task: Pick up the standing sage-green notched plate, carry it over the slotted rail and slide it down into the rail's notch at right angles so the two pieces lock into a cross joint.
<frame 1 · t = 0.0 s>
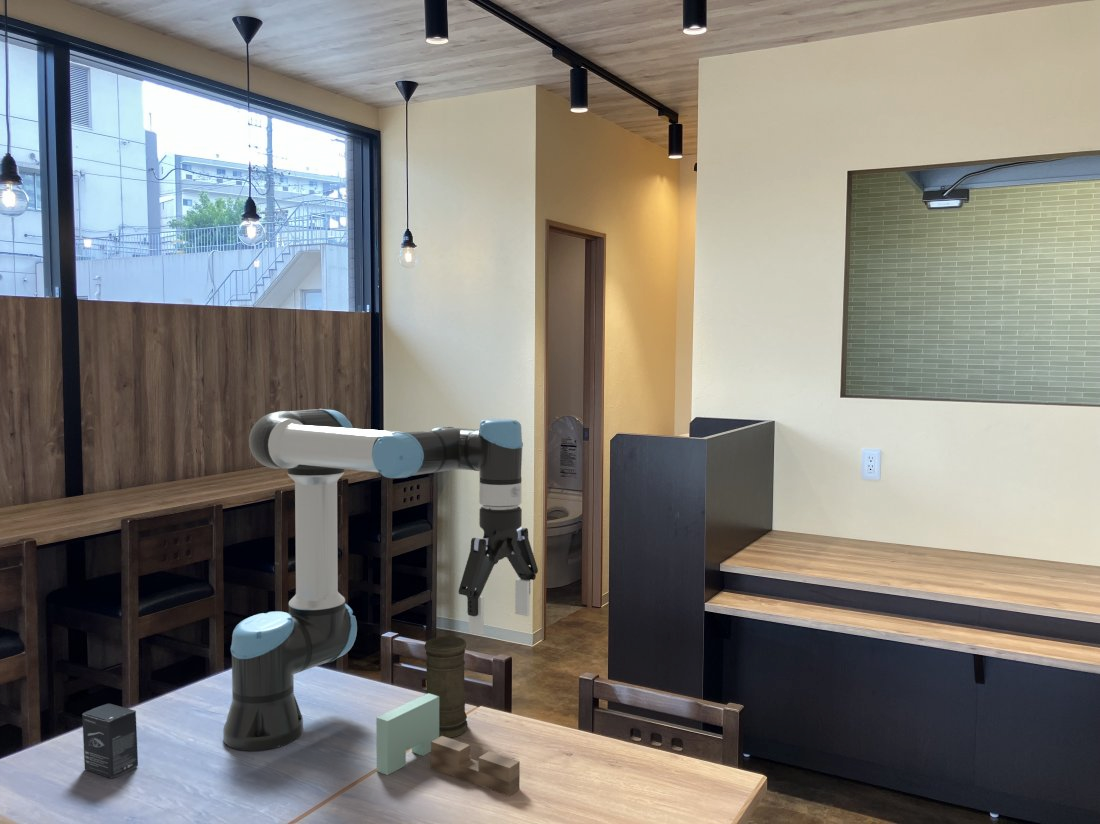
hand: (500, 623, 151), 28 cm above the table, fingers open, 13 cm apart
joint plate: (408, 758, 159), on the table
box: (110, 769, 154), on the table
container: (445, 729, 172), on the table
slotted rail: (474, 778, 151), on the table
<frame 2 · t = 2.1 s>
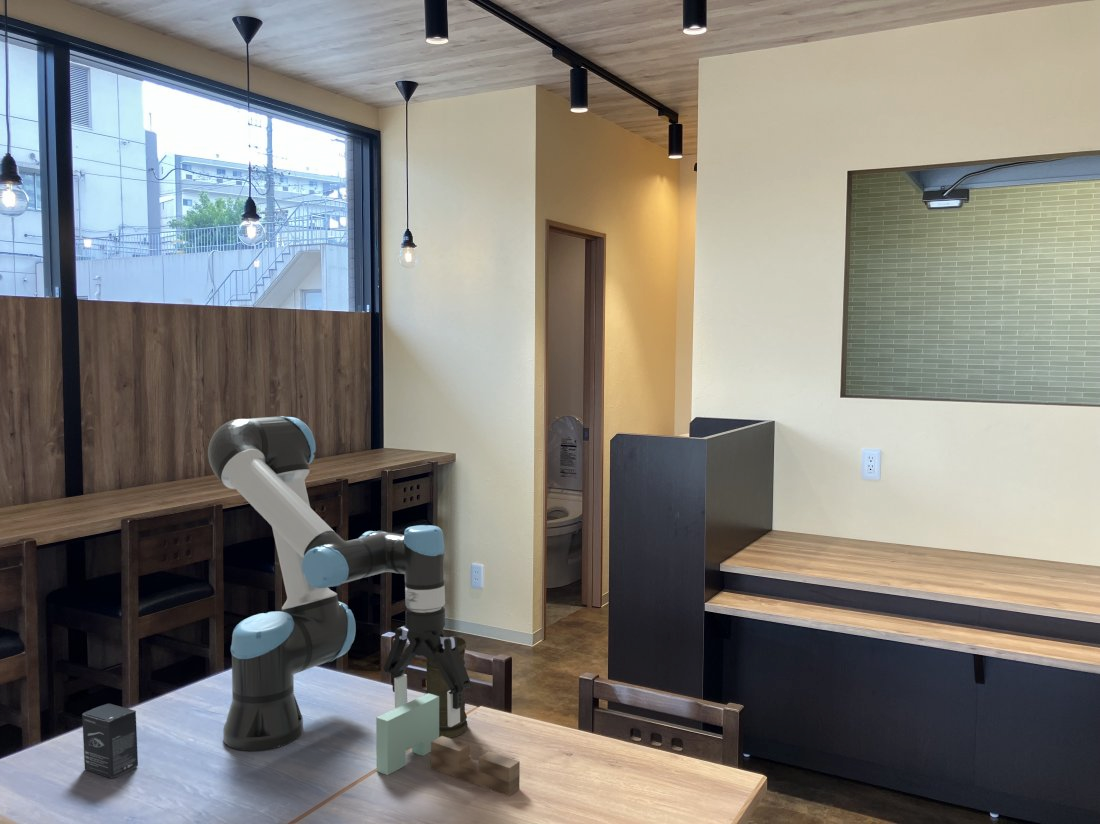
hand: (426, 716, 162), 7 cm above the table, fingers open, 13 cm apart
nothing on the table moved.
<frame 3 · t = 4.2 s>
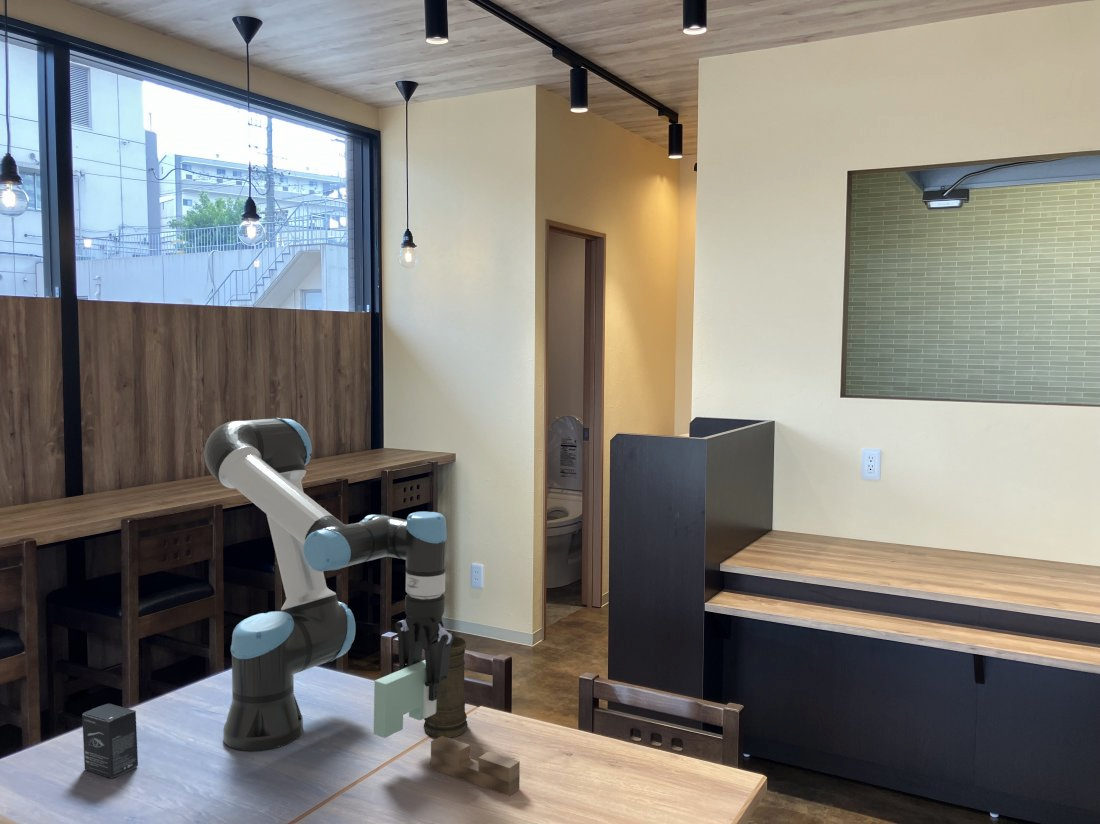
hand: (422, 712, 163), 7 cm above the table, fingers closed on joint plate, 3 cm apart
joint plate: (405, 722, 159), point 7 cm above the table, touching gripper
everything else where it was.
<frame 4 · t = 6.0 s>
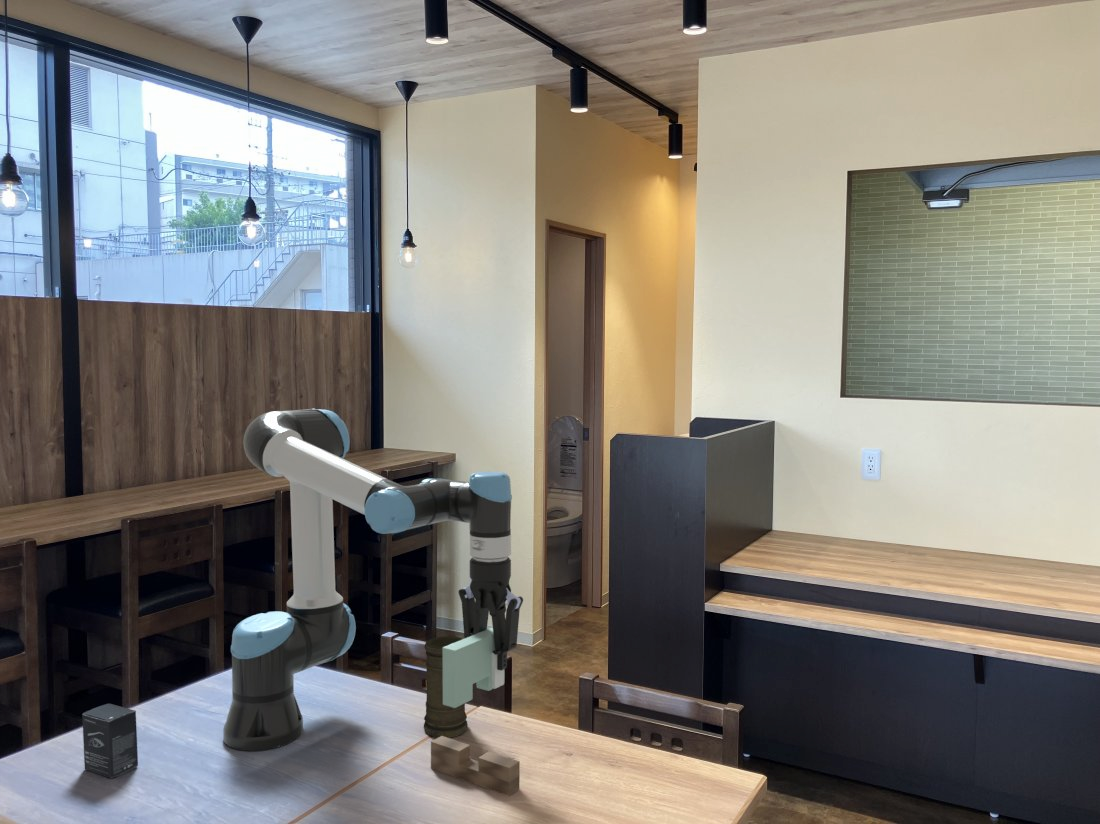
hand: (490, 683, 154), 16 cm above the table, fingers closed on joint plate, 3 cm apart
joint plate: (474, 693, 151), point 16 cm above the table, touching gripper
everything else where it was.
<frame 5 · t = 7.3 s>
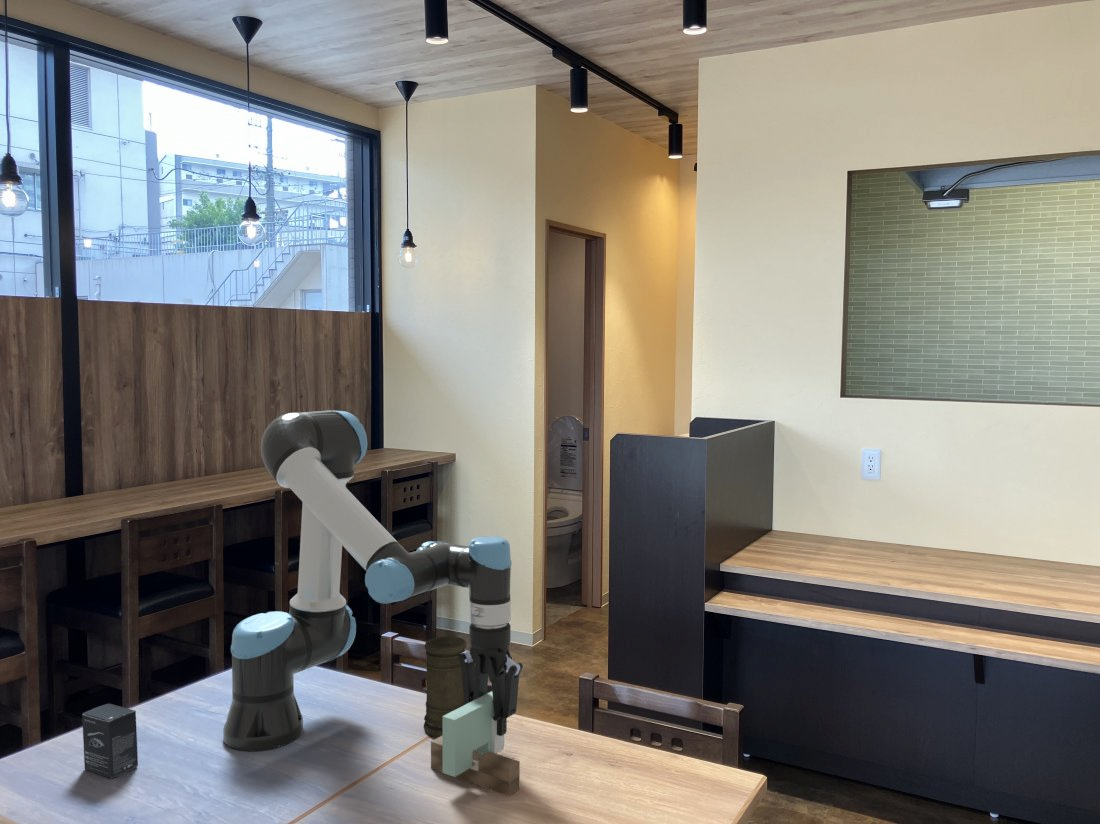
hand: (489, 748, 155), 4 cm above the table, fingers closed on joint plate, 3 cm apart
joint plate: (474, 759, 151), point 3 cm above the table, touching gripper
everything else where it was.
when the fingers open (1 cm above the table, at t = 8.1 s): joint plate stays where it is, on the table.
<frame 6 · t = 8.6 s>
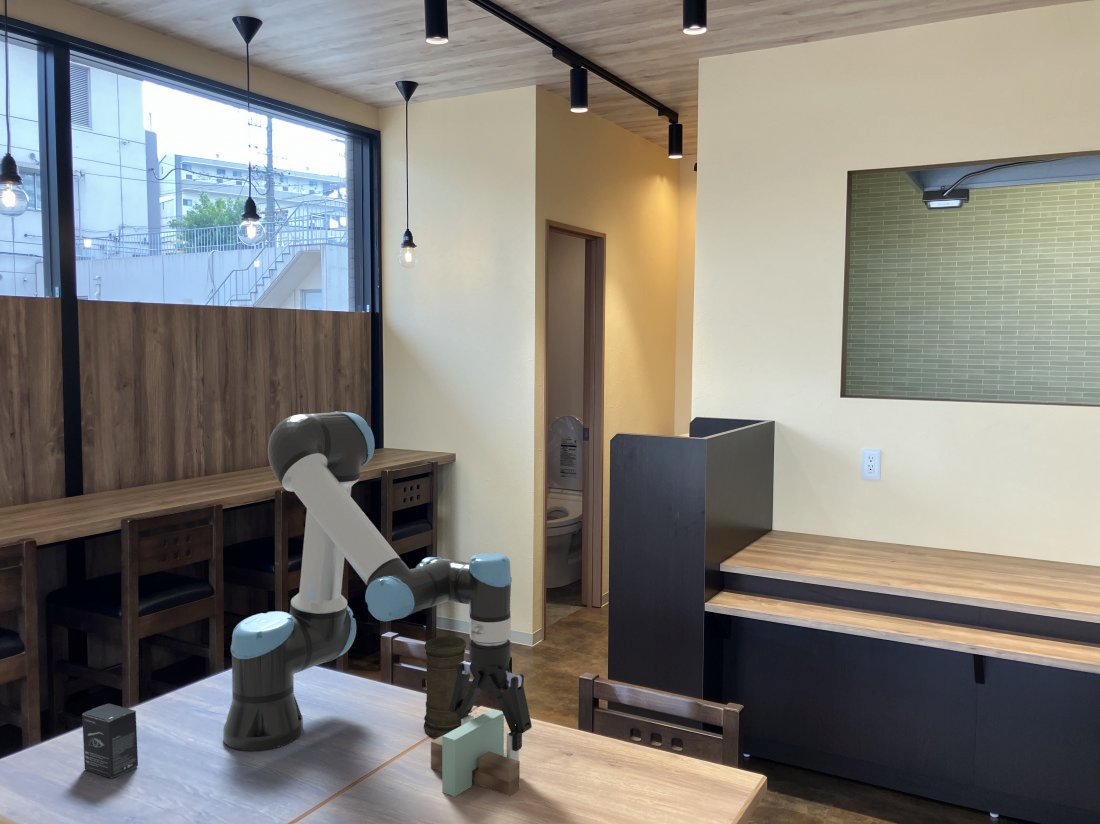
hand: (489, 758, 155), 2 cm above the table, fingers open, 10 cm apart
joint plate: (474, 778, 152), on the table
everything else where it was.
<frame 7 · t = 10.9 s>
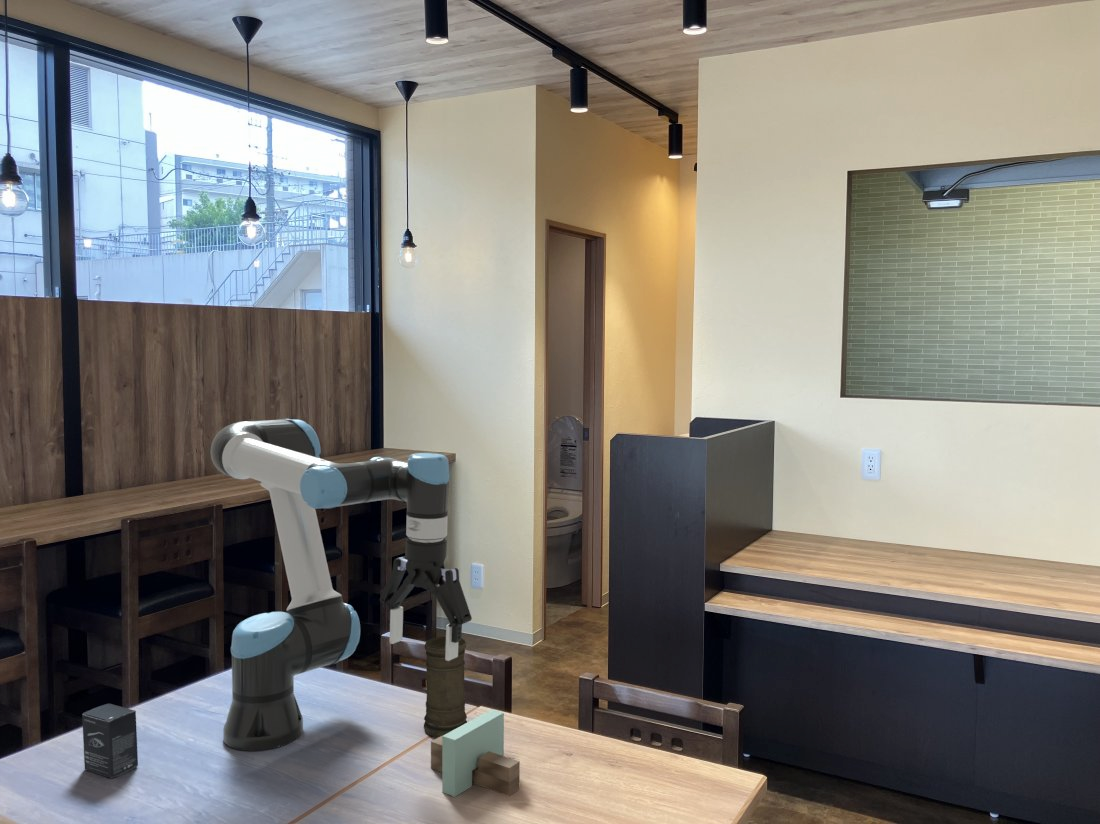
hand: (423, 650, 157), 21 cm above the table, fingers open, 13 cm apart
nothing on the table moved.
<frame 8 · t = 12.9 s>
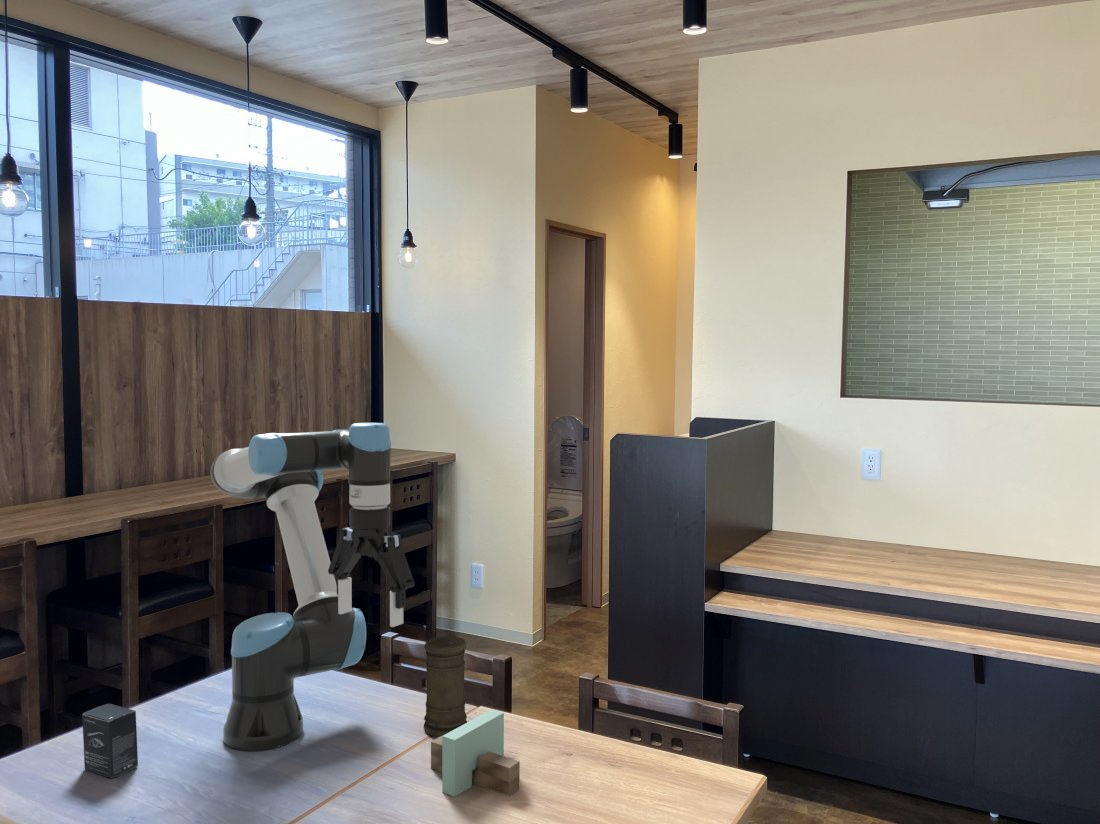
hand: (370, 618, 158), 27 cm above the table, fingers open, 13 cm apart
nothing on the table moved.
at the end: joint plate 0.0 cm from the target spot, on the table; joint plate tilted 0°; the gripper is holding nothing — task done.
